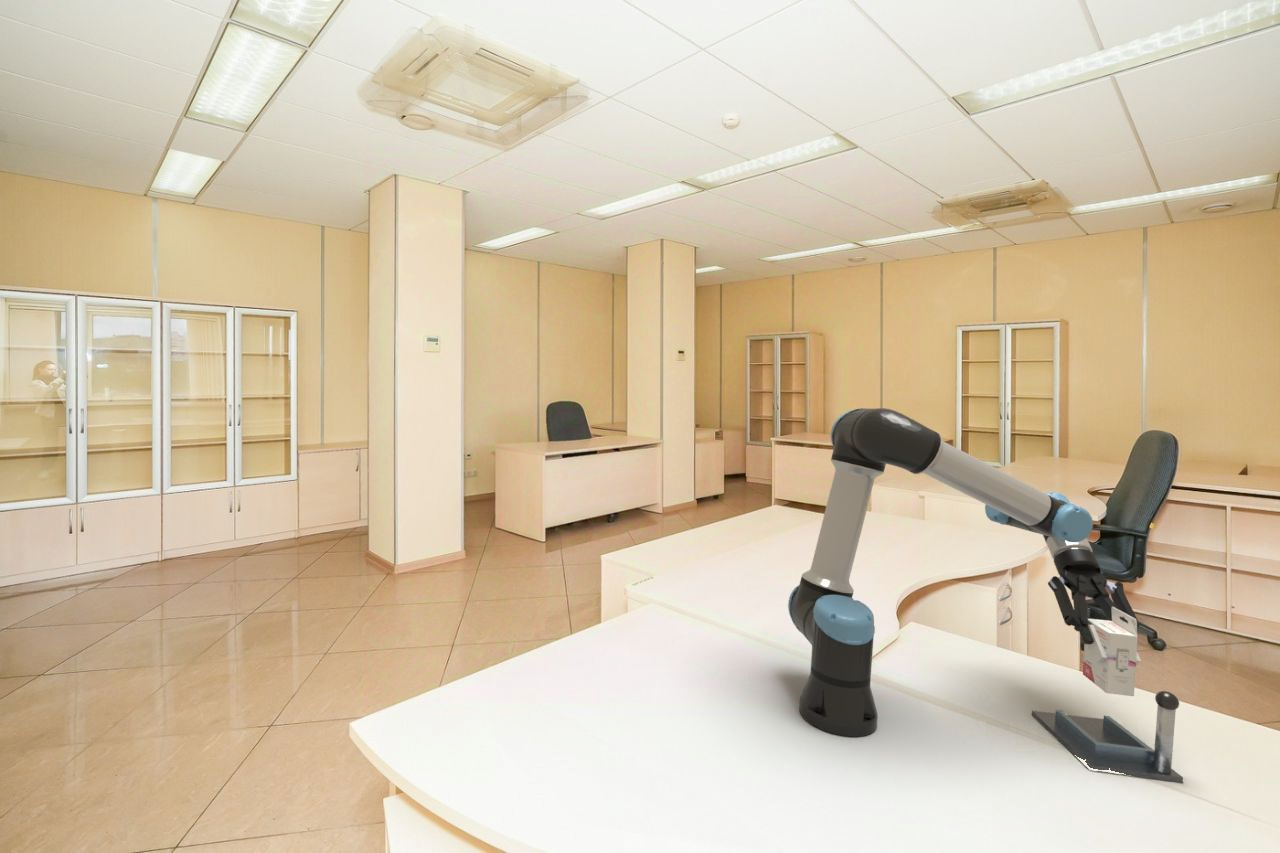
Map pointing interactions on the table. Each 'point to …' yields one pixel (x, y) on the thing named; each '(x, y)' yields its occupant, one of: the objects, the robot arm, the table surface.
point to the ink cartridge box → (1114, 654)
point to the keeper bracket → (1118, 741)
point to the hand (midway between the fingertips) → (1118, 661)
